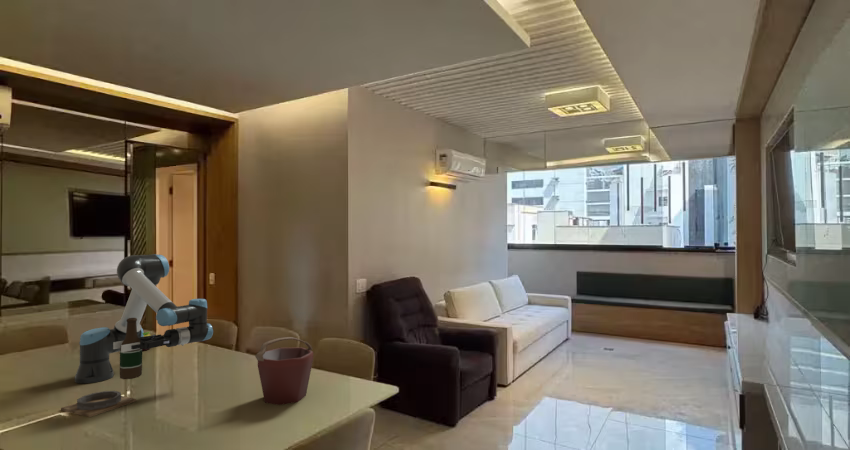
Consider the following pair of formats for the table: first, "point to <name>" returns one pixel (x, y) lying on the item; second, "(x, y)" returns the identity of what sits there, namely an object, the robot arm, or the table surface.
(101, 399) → the collar stand
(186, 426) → the table surface
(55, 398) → the table surface
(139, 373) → the beer bottle
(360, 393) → the table surface
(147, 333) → the fruit
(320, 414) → the table surface
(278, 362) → the bucket
